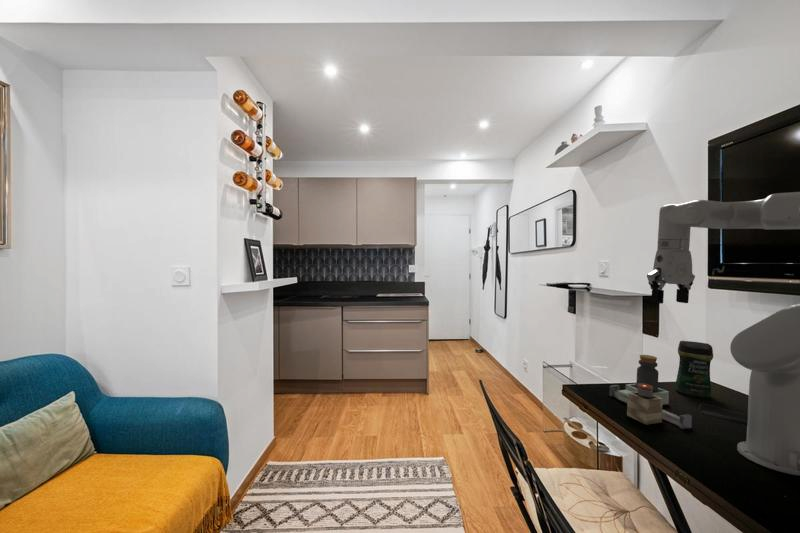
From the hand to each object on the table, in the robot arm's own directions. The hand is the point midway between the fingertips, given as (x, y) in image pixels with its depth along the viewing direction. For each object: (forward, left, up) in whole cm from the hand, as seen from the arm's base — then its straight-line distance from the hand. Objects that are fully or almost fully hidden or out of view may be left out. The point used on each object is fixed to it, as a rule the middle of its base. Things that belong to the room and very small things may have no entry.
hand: (669, 302), depth 104 cm
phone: (-5, -20, -35) cm, 41 cm away
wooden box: (0, +9, -34) cm, 36 cm away
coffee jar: (+11, -28, -35) cm, 46 cm away
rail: (+4, +2, -34) cm, 35 cm away
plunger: (0, +9, -29) cm, 31 cm away
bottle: (+10, -5, -35) cm, 36 cm away
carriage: (+10, -2, -34) cm, 35 cm away
